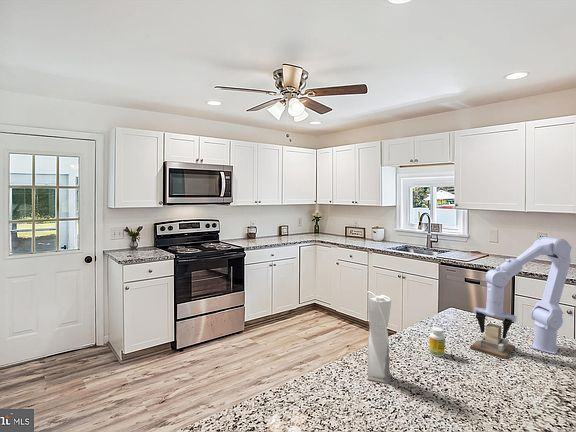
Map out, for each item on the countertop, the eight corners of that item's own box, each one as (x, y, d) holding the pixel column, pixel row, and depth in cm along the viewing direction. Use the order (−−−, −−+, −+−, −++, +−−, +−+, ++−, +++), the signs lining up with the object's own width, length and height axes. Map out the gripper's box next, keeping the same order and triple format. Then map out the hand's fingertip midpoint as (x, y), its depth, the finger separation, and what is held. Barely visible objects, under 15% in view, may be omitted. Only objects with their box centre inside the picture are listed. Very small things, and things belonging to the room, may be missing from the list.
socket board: (481, 338, 150) (481, 330, 149) (514, 347, 141) (515, 339, 141) (470, 348, 140) (470, 340, 140) (505, 359, 131) (505, 349, 131)
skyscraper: (362, 379, 115) (365, 294, 114) (366, 367, 123) (368, 287, 121) (389, 384, 113) (392, 297, 111) (391, 372, 120) (394, 290, 118)
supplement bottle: (434, 349, 139) (435, 325, 138) (447, 354, 134) (448, 329, 134) (426, 352, 136) (426, 328, 135) (438, 358, 131) (439, 332, 131)
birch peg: (488, 342, 144) (489, 323, 143) (500, 346, 140) (501, 326, 140) (484, 345, 140) (485, 325, 140) (497, 349, 137) (498, 329, 137)
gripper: (471, 298, 142) (470, 332, 142) (513, 307, 131) (511, 343, 132) (477, 295, 147) (475, 327, 147) (518, 303, 136) (516, 338, 137)
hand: (493, 334), depth 140 cm, fingers open, 7 cm apart
